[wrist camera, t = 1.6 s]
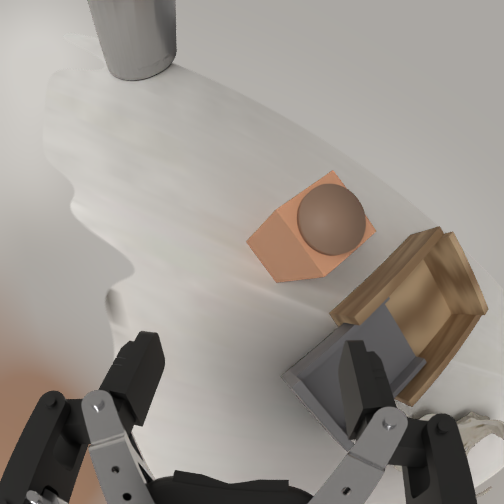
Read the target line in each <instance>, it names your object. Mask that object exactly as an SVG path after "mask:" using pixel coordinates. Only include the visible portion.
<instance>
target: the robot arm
mask: <svg viewBox="0 0 504 504" xmlns="http://www.w3.org/2000/svg"><path fill="white" fill-rule="evenodd" d="M88 4H89V7H90V11H91V14H92V18H93V21H94V25H95V28H96V32H97V35H98V38H99V41H100V44H101V48H102V51H103V54H104V57H105V60H106V63H107V66H108V69H109V71H110V72H111V74H112V75H114V76H115V77H117V78H120V79H124V80H140V79H145V78H148V77H151V76H154V75H156V74H158V73H160V72H161V71H163V70H164V69H166V68H167V67H168V66H169V65H170V64H171V63H172V62H173V60H174V58H175V56H176V10H175V0H88ZM164 366H165V357H164V353H163V350H162V346H161V342H160V339H159V335H158V334H157V333H154V332H145V331H140V332H139V334H138V335H137V337H136V339H135V341H129V342H128V343H127V344H125V345H124V346H123V347H122V348H121V349H120V351H119V353H118V355H117V358H115V360H114V362H113V365H112V366H111V368H110V369H109V371H108V373H107V375H106V377H105V379H104V381H103V383H102V384H101V386H100V388H99V390H95V391H92V392H90V393H88V394H87V395H86V396H85V397H84V398H83V399H65V397H64V396H63V394H62V393H60V392H58V391H49V392H47V393H45V394H44V395H42V397H41V398H40V399H39V401H38V403H37V405H36V407H35V409H34V411H33V413H32V414H31V416H30V418H29V420H28V422H27V424H26V426H25V428H24V430H23V432H22V434H21V436H20V438H19V440H18V442H17V444H16V447H15V449H14V451H13V453H12V455H11V458H10V460H9V462H8V464H7V467H6V469H5V471H4V474H3V477H2V479H1V481H0V504H69V500H70V497H71V494H72V491H73V488H74V485H75V482H76V478H77V476H78V472H79V470H80V467H81V464H82V461H83V458H84V456H85V453H86V450H87V447H88V444H91V445H90V446H89V453H90V456H91V459H92V463H93V466H94V469H95V472H96V475H97V478H98V480H99V483H100V486H101V489H102V491H103V494H104V496H105V499H106V501H107V504H364V503H365V502H366V500H367V499H368V497H369V496H370V494H371V493H372V491H373V490H374V488H375V487H376V485H377V483H378V482H379V480H380V479H381V477H382V475H383V473H384V471H385V467H386V465H387V464H390V465H398V466H402V471H403V479H404V486H405V495H406V504H477V500H476V495H475V490H474V485H473V481H472V476H471V472H470V468H469V464H468V460H467V456H466V453H465V449H464V445H463V442H462V439H461V435H460V432H459V429H458V425H457V423H456V421H455V420H454V419H453V418H452V417H451V416H449V415H447V414H436V415H434V416H432V417H431V418H430V419H429V421H426V420H417V419H411V418H408V417H406V415H405V414H404V413H403V412H402V411H401V410H400V409H398V408H397V407H396V404H395V401H394V397H393V394H392V391H391V388H390V384H389V381H388V378H387V375H386V372H385V371H384V366H383V363H382V360H381V358H380V357H379V356H378V355H377V354H376V353H375V352H374V351H370V352H367V350H366V347H365V344H364V341H363V340H347V341H345V343H344V346H343V350H342V354H341V358H340V362H339V367H338V378H339V384H340V390H341V396H342V402H343V408H344V415H345V421H346V428H347V435H348V440H353V439H356V444H355V445H354V447H353V448H352V449H351V451H350V452H349V453H348V454H347V455H346V456H345V458H344V459H343V460H342V462H341V463H340V464H339V466H338V467H337V468H336V470H335V471H334V472H333V474H332V475H331V476H330V477H329V479H328V480H327V481H326V482H325V484H324V485H323V486H322V487H321V489H320V490H319V491H318V492H317V493H316V495H315V496H312V495H311V494H309V493H307V492H305V491H303V490H301V489H298V488H295V487H291V486H289V480H255V481H249V482H242V483H234V484H228V483H225V482H222V481H219V480H216V479H213V478H210V477H207V476H205V475H202V474H195V473H189V472H183V471H177V470H175V472H174V476H168V477H162V478H158V479H155V478H154V476H153V474H152V473H151V471H150V469H149V468H148V466H147V464H146V462H145V460H144V458H143V455H142V453H141V451H140V449H139V447H138V444H137V442H136V440H135V437H134V435H133V433H132V428H133V426H134V425H138V426H143V424H144V421H145V418H146V416H147V413H148V410H149V408H150V405H151V402H152V399H153V397H154V394H155V391H156V389H157V386H158V384H159V381H160V378H161V376H162V373H163V370H164Z"/></svg>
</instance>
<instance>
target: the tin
mask: <svg viewBox="0 0 504 504" xmlns="http://www.w3.org/2000/svg"><path fill="white" fill-rule="evenodd" d="M375 232H376V230H375V228H374V227H373V225H372V224H371V222H370V221H369V219H368V218H367V217H366V215H365V213H364V210H363V207H362V205H361V203H360V202H359V200H358V199H357V197H356V196H355V195H354V194H353V193H352V192H351V191H349V190H348V189H347V188H346V187H345V186H344V184H343V183H342V182H341V180H340V179H339V178H338V176H337V175H336V174H335V172H334V171H333V170H332V171H331V172H329V173H328V174H327V175H325V176H324V177H322V178H321V179H319V180H318V181H316V182H315V183H314V184H312V185H311V186H309V187H308V188H306V189H305V190H304V191H302V192H301V193H299V194H298V195H296V196H295V197H294V198H292V199H291V200H289V201H288V202H286V203H285V204H284V205H282V206H281V207H279V208H278V209H276V210H275V211H274V212H273V213H272V215H271V216H270V217H269V218H268V219H267V220H266V221H265V222H264V223H263V224H262V225H261V226H260V227H259V228H258V229H257V231H256V232H255V233H254V234H253V235H252V236H251V237H250V238H249V239H248V240H247V241H246V242H247V244H248V245H249V246H250V248H251V249H252V250H253V252H254V253H255V254H256V256H257V257H258V258H259V260H260V261H261V263H262V264H263V265H264V267H265V268H266V269H267V271H268V272H269V273H270V275H271V276H272V277H273V279H274V280H275V281H276V283H277V282H286V281H295V280H303V279H312V278H320V277H325V276H326V275H327V274H329V273H330V272H331V271H332V270H333V269H334V268H336V267H337V266H338V265H339V264H340V263H341V262H342V261H344V260H345V259H346V258H347V257H348V256H349V255H350V254H352V253H353V252H354V251H355V250H356V249H357V248H358V247H359V246H361V245H362V244H363V243H364V242H365V241H366V240H367V239H368V238H369V237H370V236H372V235H373V234H374V233H375Z"/></svg>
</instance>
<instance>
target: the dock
mask: <svg viewBox="0 0 504 504" xmlns="http://www.w3.org/2000/svg"><path fill="white" fill-rule="evenodd" d="M388 297H389V298H390V299H389V300H388V301H387V302H386V303H385V305H386V307H387V308H388V310H389V312H390V313H391V315H392V316H393V318H394V320H395V321H396V323H397V325H398V326H399V328H400V330H401V332H402V333H403V335H404V337H405V338H406V340H407V342H408V344H409V345H410V347H411V349H412V351H413V352H414V354H415V356H416V357H420V358H424V359H425V361H426V362H427V363H426V364H425V365H424V366H423V367H422V369H421V370H420V371H419V372H418V373H417V374H416V375H415V377H414V378H413V379H412V380H411V381H410V382H409V383H408V384H407V385H406V387H405V388H404V389H403V390H402V391H401V392H400V393H399V394H398V395H397V396H396V397H395V398H394V399H396V400H398V401H400V402H402V403H404V404H407V405H409V406H411V407H412V406H413V405H414V404H415V403H416V402H417V401H418V400H419V399H420V398H421V396H422V395H423V394H424V393H425V392H426V391H427V390H428V388H429V387H430V386H431V385H432V384H433V382H434V381H435V380H436V379H437V378H438V376H439V375H440V374H441V373H442V371H443V370H444V369H445V368H446V366H447V365H448V364H449V362H450V361H451V360H452V358H453V357H454V356H455V354H456V353H457V352H458V350H459V349H460V347H461V346H462V345H463V343H464V342H465V340H466V339H467V337H468V336H469V334H470V333H471V331H472V330H473V328H474V327H475V325H476V324H477V322H478V321H479V319H480V317H481V316H482V315H485V314H486V312H487V311H488V307H487V304H486V302H485V299H484V297H483V294H482V292H481V289H480V287H479V285H478V282H477V280H476V278H475V275H474V273H473V271H472V269H471V267H470V264H469V262H468V260H467V258H466V256H465V254H464V252H463V250H462V248H461V246H460V244H459V242H458V240H457V238H456V236H455V234H454V233H453V232H450V233H445V234H444V233H443V231H442V230H441V228H440V226H439V227H436V228H432V229H429V230H426V231H422V232H419V233H415V234H412V235H410V236H409V237H408V238H407V239H406V240H405V241H404V242H403V243H402V244H401V245H400V246H399V247H398V248H397V249H396V250H395V251H394V252H393V253H392V254H391V255H390V256H389V257H388V258H387V259H386V260H385V261H384V262H383V263H382V264H381V265H380V266H379V267H378V268H377V269H376V270H375V271H374V272H373V273H372V274H371V275H370V276H369V277H368V278H367V279H366V280H365V281H364V282H363V283H362V284H361V285H360V286H358V287H357V288H356V289H355V290H354V291H353V292H352V293H351V294H350V295H349V296H348V297H347V298H346V299H344V300H343V301H342V302H341V303H340V304H339V305H338V306H337V307H336V308H334V309H333V310H332V311H331V312H330V313H329V314H330V315H331V317H332V318H333V320H334V321H335V323H336V324H337V325H338V327H339V326H340V325H342V324H343V323H349V324H354V325H361V324H362V323H363V322H364V321H365V320H366V319H367V318H368V317H369V316H370V315H371V314H372V313H373V312H374V311H375V310H376V309H377V308H378V307H379V306H380V305H381V304H382V303H383V302H384V301H385V300H386V299H387V298H388Z"/></svg>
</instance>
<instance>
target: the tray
mask: <svg viewBox="0 0 504 504" xmlns="http://www.w3.org/2000/svg"><path fill="white" fill-rule="evenodd" d="M389 299H390V298H389V297H388V298H387V299H386V300H385V301H384V302H383V303H382V304H381V305H380V306H379V307H378V308H377V309H376V310H375V311H374V312H373V313H372V314H371V315H370V316H369V317H368V318H367V319H366V320H365V321H364V322H363V323H362V324H361V325H354V324H349V323H343V324H342V325H340V326H339V327H338V328H337V329H336V330H335V331H334V332H333V333H332V334H330V335H329V336H328V337H327V338H326V339H325V340H324V341H322V342H321V343H320V344H319V345H318V346H317V347H316V348H314V349H313V350H312V351H311V352H310V353H308V354H307V355H306V356H305V357H304V358H302V359H301V360H300V361H299V362H298V363H296V364H295V365H294V366H293V367H291V368H290V369H289V370H288V371H286V372H285V373H284V374H283V375H281V378H282V379H283V380H284V381H285V383H286V384H287V385H288V386H289V387H290V389H291V390H292V391H293V392H294V393H295V394H296V396H297V397H298V398H299V399H300V400H301V402H302V403H303V404H304V405H305V406H306V407H307V409H308V410H309V411H310V412H311V413H312V414H313V415H314V417H315V418H316V419H317V420H318V421H319V422H320V423H321V425H322V426H323V427H324V428H325V429H326V430H327V431H328V433H329V434H330V435H331V436H332V437H333V438H334V439H335V440H336V441H337V442H338V443H339V444H340V445H341V446H342V447H343V448H344V449H345V450H346V451H347V452H348V451H349V450H350V449H351V448H352V447H354V443H353V442H352V441H351V440H348V435H347V428H346V421H345V415H344V408H343V402H342V396H341V390H340V384H339V378H338V367H339V362H340V358H341V354H342V350H343V346H344V343H345V341H347V340H363V341H364V344H365V347H366V350H367V352H370V351H374V352H375V353H376V354H377V355H378V356H379V357H380V358H381V360H382V363H383V366H384V371H385V372H386V375H387V378H388V381H389V384H390V388H391V391H392V394H393V397H394V398H395V397H396V396H397V395H398V394H399V393H400V392H401V391H402V390H403V389H404V388H405V387H406V385H407V384H408V383H409V382H410V381H411V380H412V379H413V378H414V377H415V375H416V374H417V373H418V372H419V371H420V370H421V369H422V367H423V366H424V365H425V364H426V363H427V362H426V361H425V359H424V358H420V357H416V356H415V354H414V352H413V351H412V349H411V347H410V345H409V344H408V342H407V340H406V338H405V337H404V335H403V333H402V332H401V330H400V328H399V326H398V325H397V323H396V321H395V320H394V318H393V316H392V315H391V313H390V312H389V310H388V308H387V307H386V305H385V303H386V302H387V301H388V300H389Z"/></svg>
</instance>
